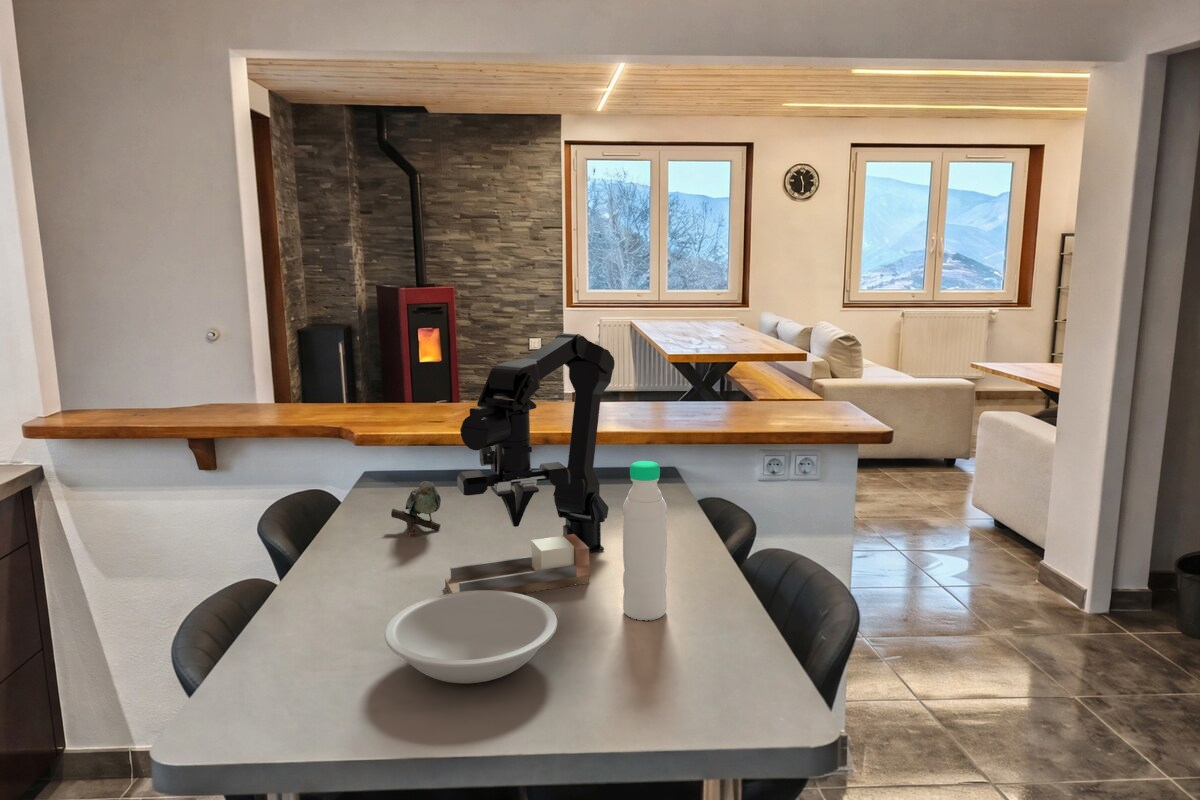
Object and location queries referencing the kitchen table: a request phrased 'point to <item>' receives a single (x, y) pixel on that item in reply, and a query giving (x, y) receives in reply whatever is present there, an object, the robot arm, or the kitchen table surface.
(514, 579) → the track
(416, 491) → the bird figurine
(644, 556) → the water bottle
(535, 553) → the block
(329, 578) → the kitchen table surface
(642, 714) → the kitchen table surface
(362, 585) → the kitchen table surface
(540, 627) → the soup bowl
